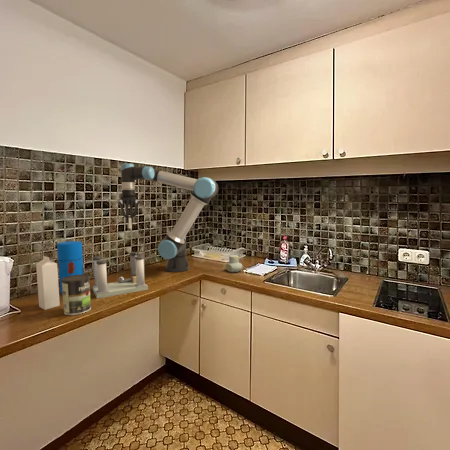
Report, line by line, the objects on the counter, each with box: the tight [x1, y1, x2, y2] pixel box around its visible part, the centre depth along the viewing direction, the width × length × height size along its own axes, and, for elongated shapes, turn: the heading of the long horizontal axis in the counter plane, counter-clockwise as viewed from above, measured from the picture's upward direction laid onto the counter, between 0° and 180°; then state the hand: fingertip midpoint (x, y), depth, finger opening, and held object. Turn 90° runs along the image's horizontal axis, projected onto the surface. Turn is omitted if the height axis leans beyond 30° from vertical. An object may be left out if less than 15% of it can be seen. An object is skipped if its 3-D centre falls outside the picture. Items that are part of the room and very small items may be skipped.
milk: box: [35, 255, 61, 311], centre depth 123 cm, size 6×6×22 cm
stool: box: [91, 255, 149, 299], centre depth 146 cm, size 24×16×17 cm
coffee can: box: [62, 274, 92, 316], centre depth 119 cm, size 10×10×14 cm
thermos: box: [56, 240, 85, 296], centre depth 142 cm, size 11×11×25 cm
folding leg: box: [117, 251, 139, 283], centre depth 153 cm, size 11×4×15 cm, turn 120°
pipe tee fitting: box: [225, 254, 243, 273], centre depth 181 cm, size 11×8×10 cm
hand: (129, 228), depth 175 cm, fingers closed
